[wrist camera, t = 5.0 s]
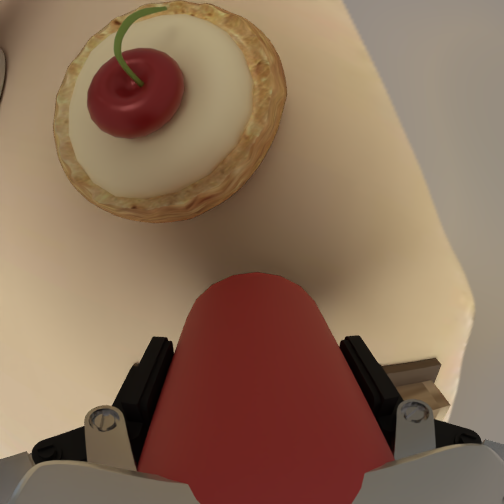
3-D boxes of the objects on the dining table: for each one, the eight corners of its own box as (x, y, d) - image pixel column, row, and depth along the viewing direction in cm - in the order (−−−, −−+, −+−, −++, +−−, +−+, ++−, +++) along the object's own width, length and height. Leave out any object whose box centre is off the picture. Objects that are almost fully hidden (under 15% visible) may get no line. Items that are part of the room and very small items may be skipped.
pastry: (85, 199, 17) (-14, 220, 8) (119, 37, 14) (46, -19, 5) (260, 228, 17) (255, 280, 8) (294, 44, 14) (314, -48, 5)
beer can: (340, 291, 14) (490, 508, 2) (288, 391, 15) (326, 590, 4) (209, 247, 13) (97, 546, 1) (175, 361, 14) (115, 576, 3)
